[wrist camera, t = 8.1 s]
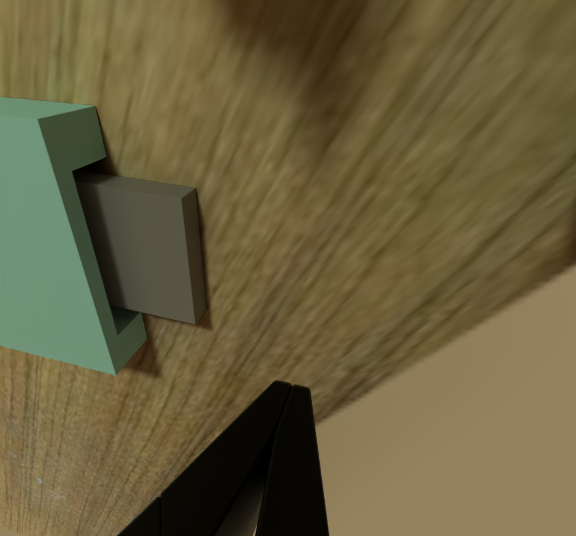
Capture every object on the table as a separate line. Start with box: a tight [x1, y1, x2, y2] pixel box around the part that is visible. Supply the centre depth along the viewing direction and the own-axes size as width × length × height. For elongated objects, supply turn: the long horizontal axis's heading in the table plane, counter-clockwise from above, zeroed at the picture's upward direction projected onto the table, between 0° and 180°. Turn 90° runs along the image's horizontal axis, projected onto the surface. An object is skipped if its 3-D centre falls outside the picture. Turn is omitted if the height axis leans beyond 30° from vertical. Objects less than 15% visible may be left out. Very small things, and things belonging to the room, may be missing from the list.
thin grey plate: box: [72, 170, 206, 324], centre depth 22 cm, size 11×8×2 cm
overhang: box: [0, 97, 147, 375], centre depth 22 cm, size 10×15×4 cm, turn 177°
